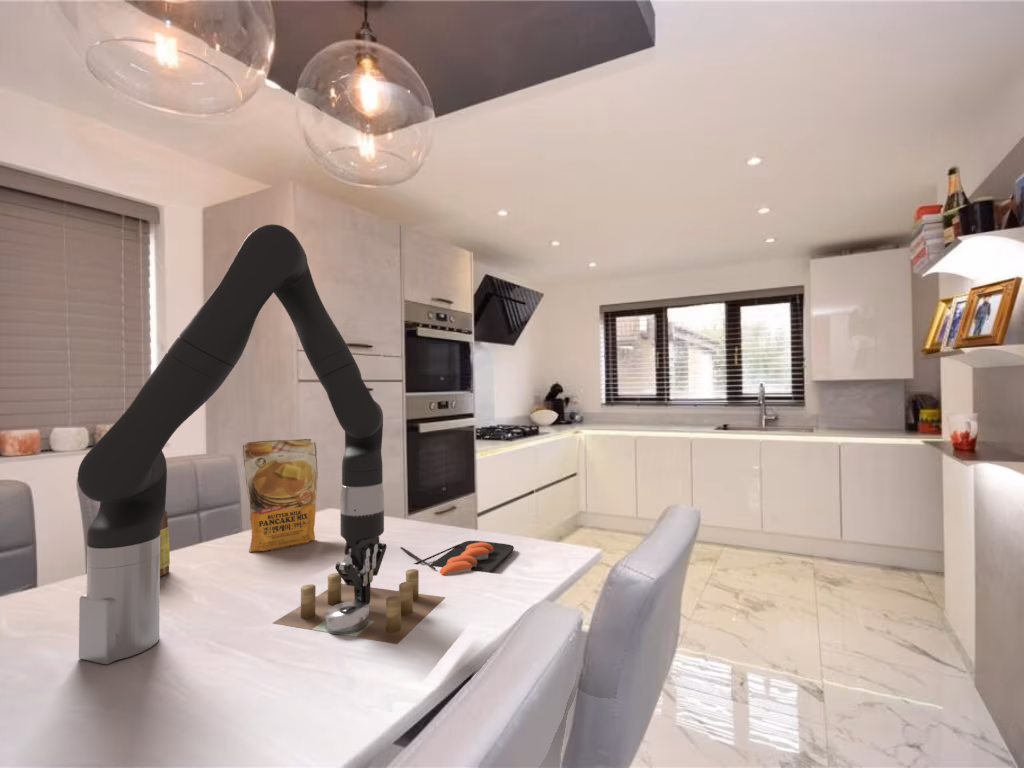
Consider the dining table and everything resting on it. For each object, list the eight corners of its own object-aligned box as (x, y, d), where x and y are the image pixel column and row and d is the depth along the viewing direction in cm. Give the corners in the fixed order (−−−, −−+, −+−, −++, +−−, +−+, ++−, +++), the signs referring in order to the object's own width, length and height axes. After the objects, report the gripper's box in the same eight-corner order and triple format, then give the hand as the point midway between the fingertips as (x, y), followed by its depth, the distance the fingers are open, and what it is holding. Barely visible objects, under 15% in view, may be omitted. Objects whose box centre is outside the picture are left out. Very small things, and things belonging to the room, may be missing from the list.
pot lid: (354, 637, 79) (354, 621, 79) (316, 631, 80) (316, 616, 80) (376, 617, 85) (376, 602, 85) (341, 613, 87) (341, 598, 87)
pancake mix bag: (239, 549, 127) (240, 441, 127) (315, 535, 139) (315, 437, 139) (244, 556, 122) (245, 443, 122) (322, 541, 134) (323, 438, 134)
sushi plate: (471, 597, 98) (471, 578, 98) (347, 578, 108) (347, 561, 108) (517, 552, 126) (517, 537, 126) (415, 540, 136) (415, 526, 136)
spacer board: (397, 653, 77) (397, 611, 77) (272, 631, 83) (272, 593, 84) (445, 605, 94) (445, 571, 94) (338, 590, 101) (338, 558, 101)
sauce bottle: (164, 568, 113) (165, 482, 114) (173, 574, 109) (174, 485, 110) (129, 576, 108) (130, 486, 109) (137, 583, 104) (138, 490, 105)
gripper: (359, 519, 81) (359, 624, 80) (399, 501, 93) (399, 592, 93) (320, 516, 83) (320, 619, 83) (365, 499, 95) (365, 588, 95)
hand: (362, 604), depth 88 cm, fingers closed
